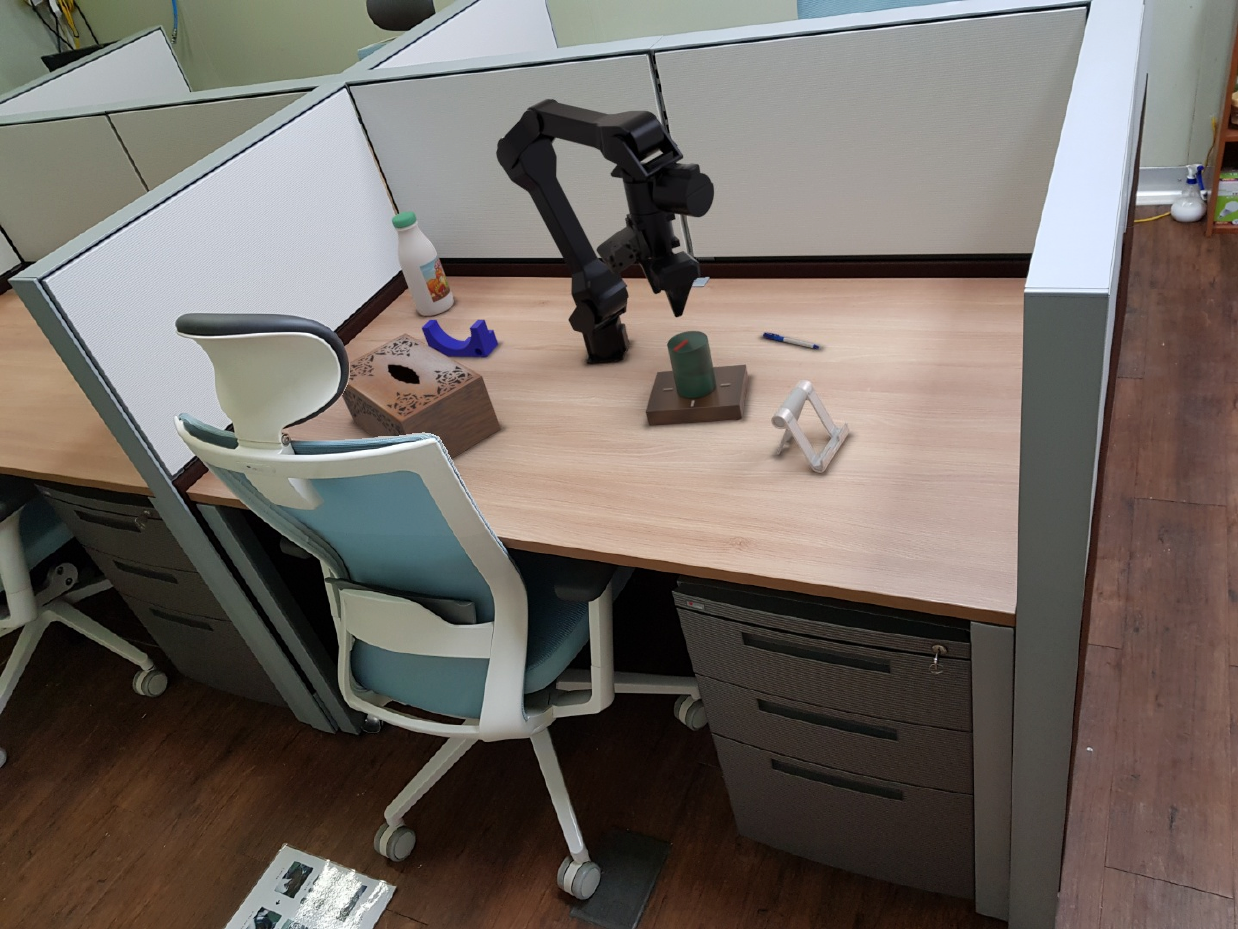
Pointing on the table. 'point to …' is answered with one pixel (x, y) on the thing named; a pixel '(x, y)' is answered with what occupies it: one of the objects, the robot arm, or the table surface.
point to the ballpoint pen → (788, 340)
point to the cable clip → (471, 347)
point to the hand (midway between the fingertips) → (667, 304)
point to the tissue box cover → (419, 395)
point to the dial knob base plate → (711, 407)
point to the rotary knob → (691, 364)
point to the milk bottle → (421, 267)
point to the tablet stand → (788, 420)
